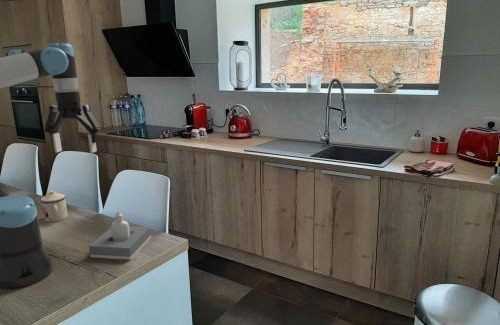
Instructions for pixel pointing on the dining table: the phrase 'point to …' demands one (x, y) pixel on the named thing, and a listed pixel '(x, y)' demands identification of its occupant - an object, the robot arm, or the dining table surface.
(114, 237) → the eye dropper bottle
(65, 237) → the dining table surface
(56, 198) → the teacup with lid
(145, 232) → the hole block
